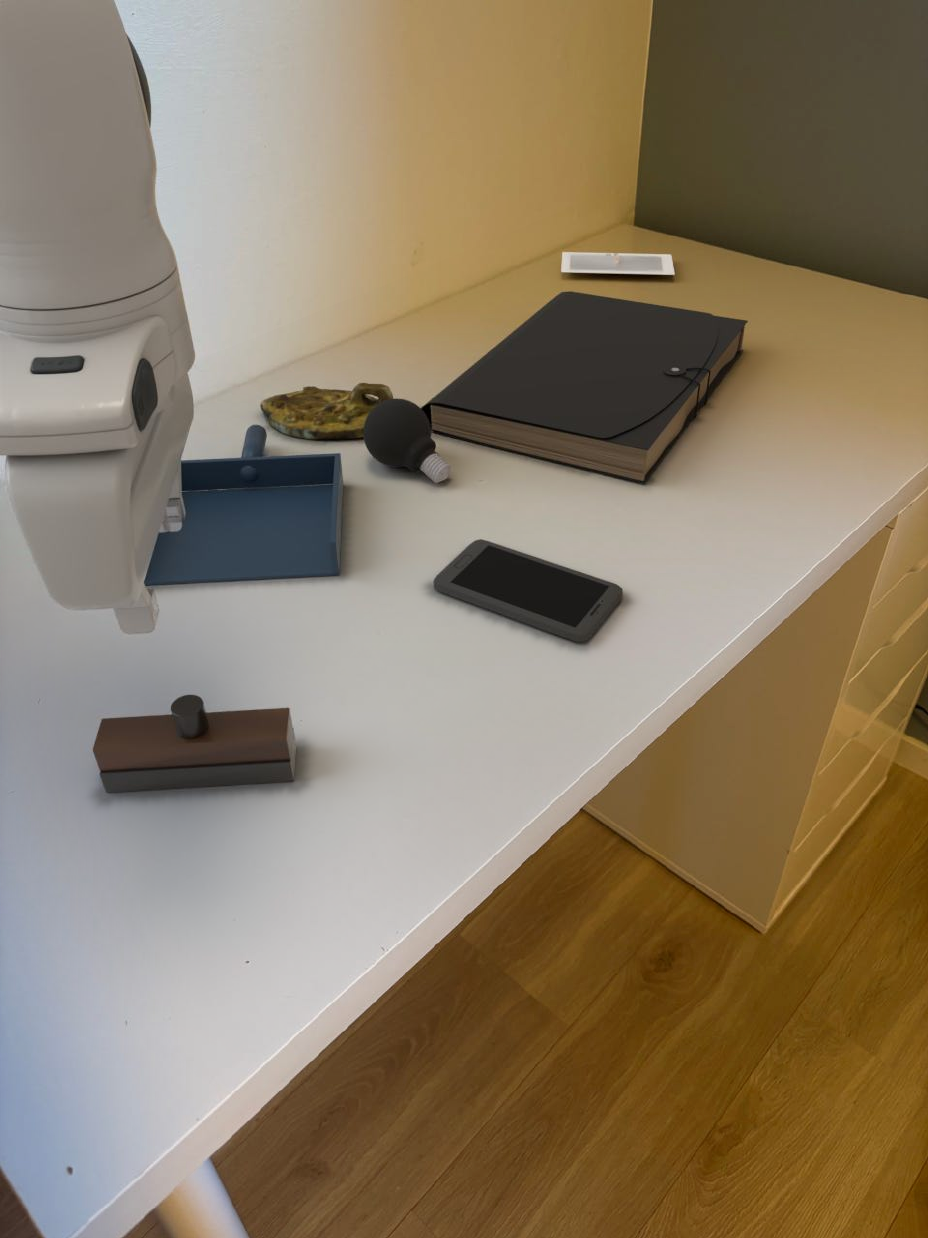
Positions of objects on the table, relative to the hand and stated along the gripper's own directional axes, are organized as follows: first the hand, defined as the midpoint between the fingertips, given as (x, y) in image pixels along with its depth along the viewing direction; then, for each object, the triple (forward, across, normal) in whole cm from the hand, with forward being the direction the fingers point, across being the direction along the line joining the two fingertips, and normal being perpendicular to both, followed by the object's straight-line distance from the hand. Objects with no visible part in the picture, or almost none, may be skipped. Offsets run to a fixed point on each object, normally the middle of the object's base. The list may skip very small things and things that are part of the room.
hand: (157, 572), depth 56 cm
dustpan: (+16, -32, 0) cm, 36 cm away
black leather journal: (+16, -52, +35) cm, 65 cm away
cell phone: (+16, -17, +23) cm, 33 cm away
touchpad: (+16, -88, +44) cm, 99 cm away
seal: (+16, -48, +6) cm, 51 cm away
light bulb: (+16, -38, +14) cm, 44 cm away
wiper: (+16, 0, 0) cm, 16 cm away
